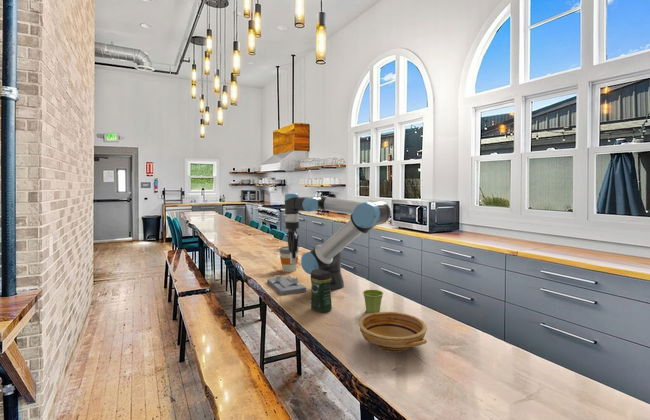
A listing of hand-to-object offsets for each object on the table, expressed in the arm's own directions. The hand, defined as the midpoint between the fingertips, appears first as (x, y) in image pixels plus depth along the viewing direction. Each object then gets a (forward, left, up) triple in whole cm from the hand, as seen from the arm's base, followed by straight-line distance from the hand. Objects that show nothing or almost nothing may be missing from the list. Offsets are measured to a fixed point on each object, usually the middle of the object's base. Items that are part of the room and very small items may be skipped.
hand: (293, 263), depth 200 cm
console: (+4, +2, -13) cm, 14 cm away
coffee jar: (-33, +20, -14) cm, 41 cm away
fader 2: (-2, +1, -11) cm, 11 cm away
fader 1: (+9, +3, -11) cm, 15 cm away
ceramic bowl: (-75, +35, -14) cm, 84 cm away
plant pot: (-54, +9, -14) cm, 57 cm away
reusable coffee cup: (+26, -27, -14) cm, 40 cm away
